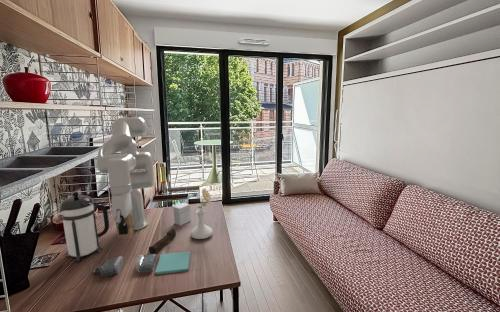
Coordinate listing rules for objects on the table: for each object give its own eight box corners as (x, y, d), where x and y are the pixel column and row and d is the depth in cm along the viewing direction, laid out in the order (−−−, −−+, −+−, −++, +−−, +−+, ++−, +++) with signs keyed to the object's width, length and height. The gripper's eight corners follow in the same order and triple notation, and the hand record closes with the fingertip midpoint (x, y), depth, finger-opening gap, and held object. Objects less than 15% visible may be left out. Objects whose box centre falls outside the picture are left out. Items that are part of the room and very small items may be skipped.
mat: (161, 256, 115) (160, 254, 115) (190, 253, 117) (190, 251, 117) (155, 274, 103) (155, 272, 102) (188, 270, 105) (188, 268, 105)
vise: (99, 265, 109) (98, 257, 108) (156, 259, 113) (155, 251, 112) (91, 277, 101) (90, 268, 100) (152, 271, 105) (151, 262, 104)
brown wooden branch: (155, 255, 116) (154, 246, 115) (148, 254, 118) (147, 244, 117) (180, 236, 134) (179, 228, 133) (173, 235, 135) (173, 227, 134)
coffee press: (97, 260, 113) (88, 196, 107) (57, 264, 110) (46, 199, 105) (111, 240, 130) (104, 184, 124) (77, 243, 127) (68, 186, 121)
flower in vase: (203, 243, 126) (200, 195, 121) (186, 237, 131) (183, 192, 127) (218, 232, 137) (217, 187, 132) (202, 227, 143) (200, 184, 138)
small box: (185, 218, 155) (183, 202, 153) (191, 220, 151) (190, 204, 149) (174, 223, 148) (173, 206, 146) (180, 225, 145) (179, 208, 143)
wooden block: (122, 233, 107) (119, 213, 105) (134, 232, 108) (132, 212, 106) (117, 239, 102) (115, 218, 100) (131, 238, 103) (128, 217, 101)
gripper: (118, 182, 108) (122, 222, 112) (102, 196, 92) (108, 242, 95) (136, 181, 109) (140, 220, 113) (124, 195, 93) (129, 240, 97)
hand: (125, 230), depth 104 cm, fingers closed on wooden block, 5 cm apart
